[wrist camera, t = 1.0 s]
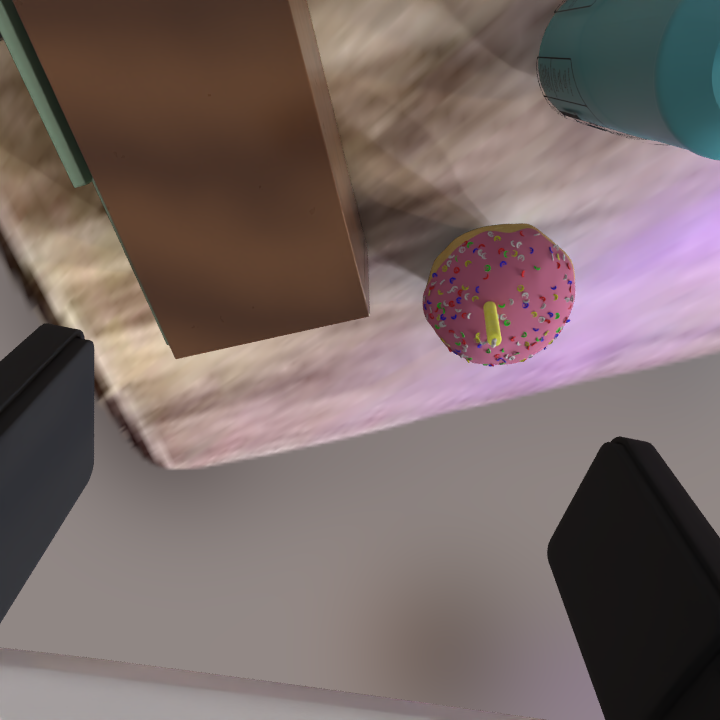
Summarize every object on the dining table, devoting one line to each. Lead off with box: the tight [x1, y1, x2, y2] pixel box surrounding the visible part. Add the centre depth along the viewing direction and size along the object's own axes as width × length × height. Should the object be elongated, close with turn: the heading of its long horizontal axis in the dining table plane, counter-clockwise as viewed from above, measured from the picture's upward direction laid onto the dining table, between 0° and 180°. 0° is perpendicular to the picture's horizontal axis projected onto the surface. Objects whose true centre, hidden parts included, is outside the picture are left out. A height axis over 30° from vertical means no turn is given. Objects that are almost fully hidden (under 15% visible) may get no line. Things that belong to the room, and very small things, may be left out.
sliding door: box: [0, 0, 93, 188], centre depth 27 cm, size 9×6×8 cm, turn 14°
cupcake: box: [423, 224, 575, 366], centre depth 31 cm, size 9×8×12 cm
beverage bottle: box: [537, 0, 720, 160], centre depth 22 cm, size 6×7×20 cm
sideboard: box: [12, 0, 370, 359], centre depth 28 cm, size 18×10×10 cm, turn 14°
